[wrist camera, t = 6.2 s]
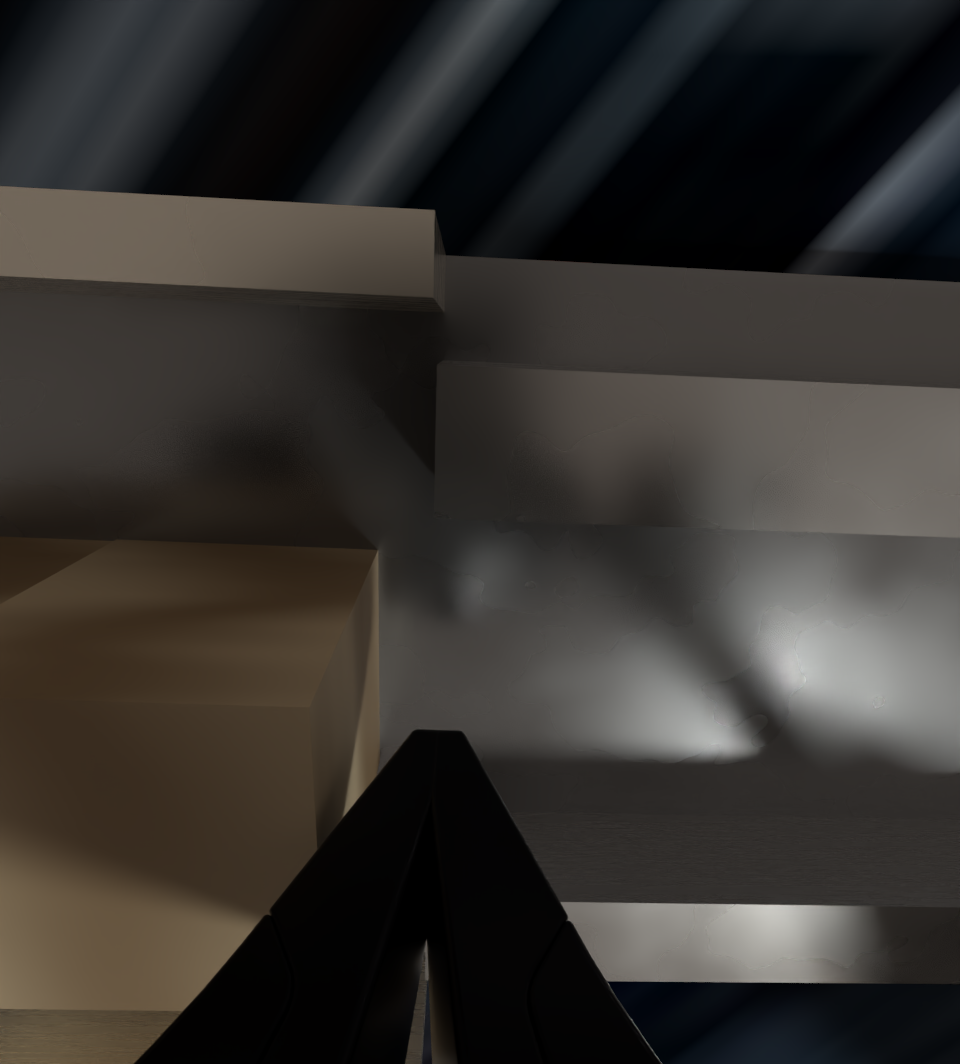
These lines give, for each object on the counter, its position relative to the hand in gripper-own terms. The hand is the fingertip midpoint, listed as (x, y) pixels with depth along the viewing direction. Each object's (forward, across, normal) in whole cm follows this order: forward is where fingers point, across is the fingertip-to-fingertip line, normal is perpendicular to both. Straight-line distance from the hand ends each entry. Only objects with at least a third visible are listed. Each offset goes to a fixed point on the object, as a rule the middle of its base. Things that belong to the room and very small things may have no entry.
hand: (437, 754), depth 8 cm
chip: (+2, +4, 0) cm, 4 cm away
